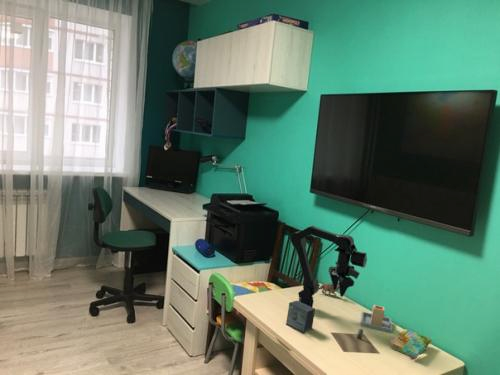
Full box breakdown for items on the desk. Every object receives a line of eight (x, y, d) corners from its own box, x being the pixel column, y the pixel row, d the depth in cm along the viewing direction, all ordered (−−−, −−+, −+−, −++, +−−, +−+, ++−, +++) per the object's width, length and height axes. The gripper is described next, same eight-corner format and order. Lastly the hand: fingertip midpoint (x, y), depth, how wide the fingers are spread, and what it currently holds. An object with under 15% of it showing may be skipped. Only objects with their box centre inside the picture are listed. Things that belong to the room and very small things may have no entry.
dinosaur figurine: (341, 295, 232) (343, 280, 230) (340, 299, 226) (343, 283, 225) (317, 290, 235) (319, 274, 234) (315, 293, 229) (318, 278, 228)
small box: (312, 330, 184) (316, 308, 182) (304, 334, 179) (307, 311, 177) (293, 321, 191) (297, 299, 189) (285, 324, 186) (288, 302, 184)
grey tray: (360, 327, 194) (361, 322, 193) (361, 316, 207) (362, 311, 207) (391, 335, 190) (392, 330, 189) (390, 323, 203) (390, 318, 203)
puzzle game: (389, 340, 175) (405, 327, 190) (387, 350, 175) (403, 336, 191) (417, 351, 167) (431, 337, 183) (415, 362, 168) (429, 347, 183)
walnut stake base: (343, 353, 166) (345, 342, 166) (329, 334, 182) (331, 323, 181) (379, 355, 169) (381, 344, 168) (363, 336, 184) (365, 325, 184)
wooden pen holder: (370, 324, 196) (373, 308, 195) (370, 319, 201) (373, 304, 200) (385, 327, 195) (388, 311, 194) (384, 323, 200) (387, 307, 199)
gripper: (367, 269, 188) (361, 301, 190) (351, 257, 207) (346, 286, 209) (344, 267, 187) (339, 300, 189) (330, 255, 205) (325, 285, 207)
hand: (338, 292), depth 198 cm, fingers open, 9 cm apart
